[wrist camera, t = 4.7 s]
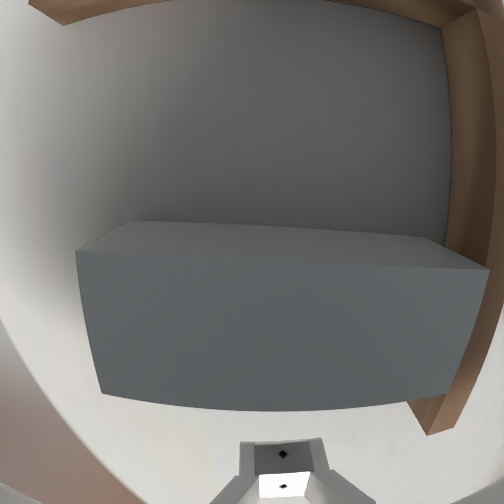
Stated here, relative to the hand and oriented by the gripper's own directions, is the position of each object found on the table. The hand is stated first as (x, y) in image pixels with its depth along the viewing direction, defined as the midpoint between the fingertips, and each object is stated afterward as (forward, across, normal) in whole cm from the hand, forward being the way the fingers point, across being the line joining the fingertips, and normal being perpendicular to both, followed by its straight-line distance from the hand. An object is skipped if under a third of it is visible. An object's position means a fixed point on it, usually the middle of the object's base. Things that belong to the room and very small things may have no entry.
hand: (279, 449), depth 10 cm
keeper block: (+2, 0, -6) cm, 6 cm away
